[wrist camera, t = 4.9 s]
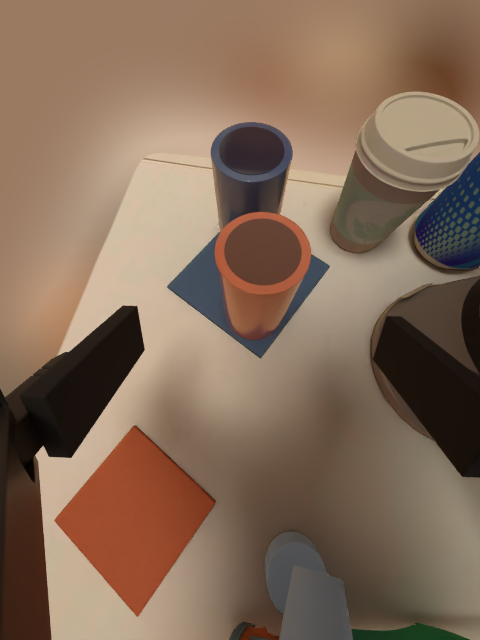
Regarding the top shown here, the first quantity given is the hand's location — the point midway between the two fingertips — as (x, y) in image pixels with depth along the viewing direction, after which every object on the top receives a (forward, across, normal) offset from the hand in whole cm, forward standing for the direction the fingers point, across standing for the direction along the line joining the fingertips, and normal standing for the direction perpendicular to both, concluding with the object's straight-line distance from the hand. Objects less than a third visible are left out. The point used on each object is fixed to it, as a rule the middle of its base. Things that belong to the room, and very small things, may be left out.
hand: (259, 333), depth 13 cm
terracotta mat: (0, -9, -17) cm, 19 cm away
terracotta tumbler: (+12, 0, -4) cm, 12 cm away
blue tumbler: (+18, -1, +2) cm, 18 cm away
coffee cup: (+20, +12, +3) cm, 23 cm away
